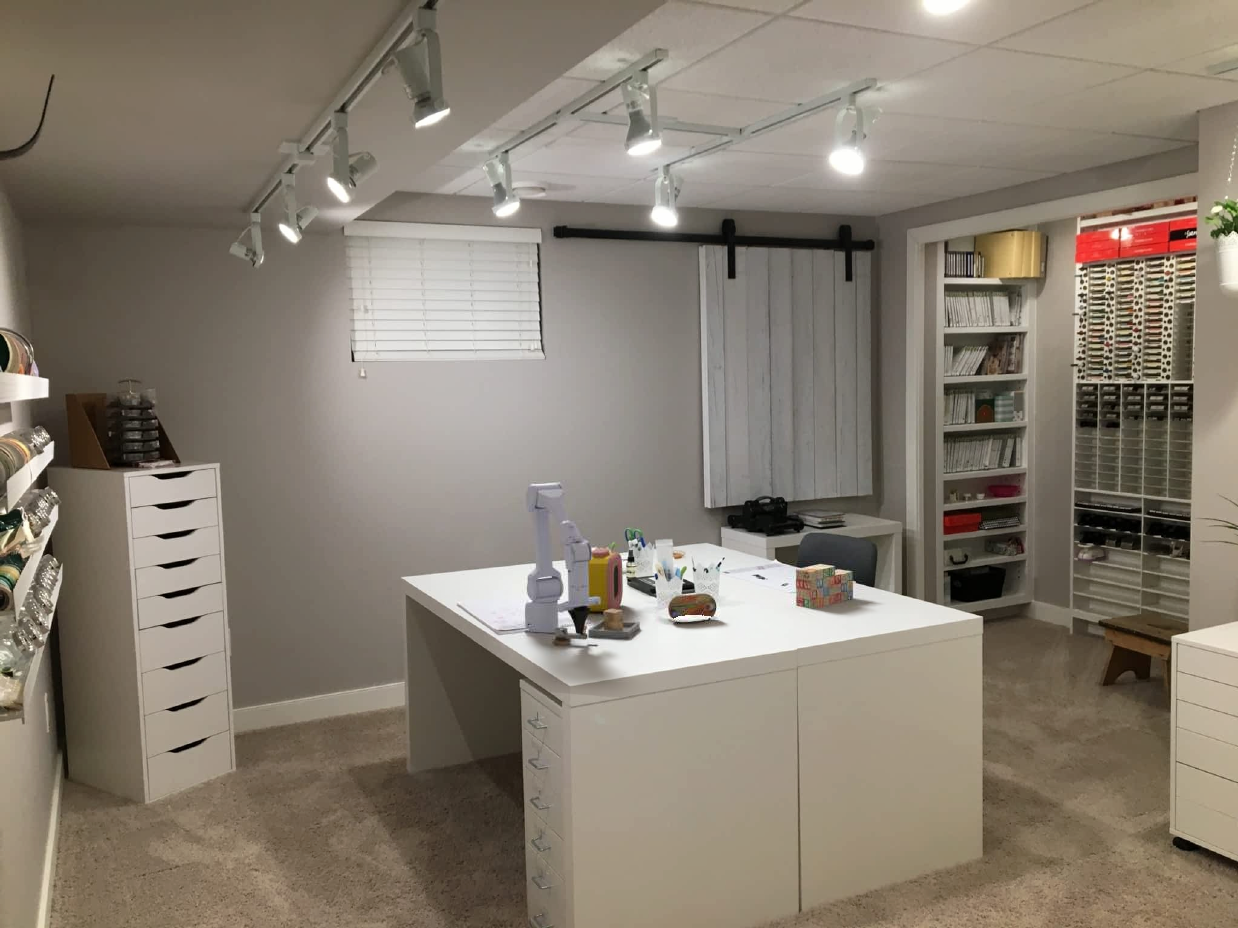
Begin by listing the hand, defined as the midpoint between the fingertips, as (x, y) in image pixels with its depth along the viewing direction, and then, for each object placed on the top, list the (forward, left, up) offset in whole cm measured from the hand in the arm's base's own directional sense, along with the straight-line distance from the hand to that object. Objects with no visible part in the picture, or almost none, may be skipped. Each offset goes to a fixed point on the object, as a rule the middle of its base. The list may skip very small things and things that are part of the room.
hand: (579, 633), depth 281 cm
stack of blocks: (+60, +70, -4) cm, 93 cm away
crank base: (-2, +2, -4) cm, 5 cm away
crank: (-3, +2, -2) cm, 4 cm away
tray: (+5, +17, -4) cm, 18 cm away
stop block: (+5, +16, -3) cm, 17 cm away
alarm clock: (-8, +45, -4) cm, 46 cm away
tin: (+24, +36, -4) cm, 43 cm away
